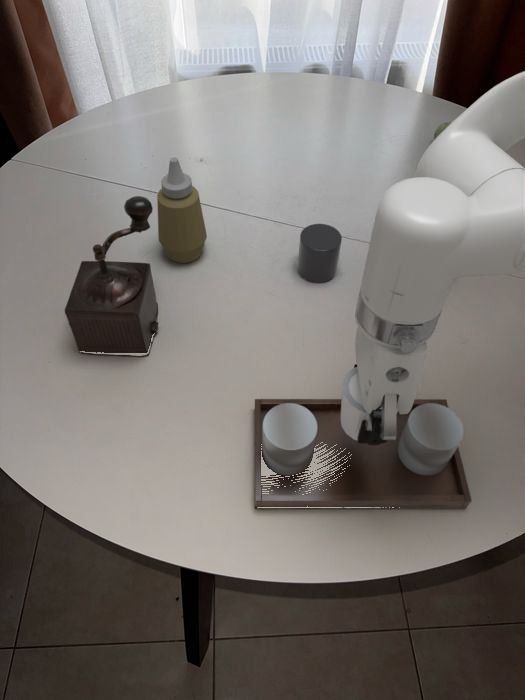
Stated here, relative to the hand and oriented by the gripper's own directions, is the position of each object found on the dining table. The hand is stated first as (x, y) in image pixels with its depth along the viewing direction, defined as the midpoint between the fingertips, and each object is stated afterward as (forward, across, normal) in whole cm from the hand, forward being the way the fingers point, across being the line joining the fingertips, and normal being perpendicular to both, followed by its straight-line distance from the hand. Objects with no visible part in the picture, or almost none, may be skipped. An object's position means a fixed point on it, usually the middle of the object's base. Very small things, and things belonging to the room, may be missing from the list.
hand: (367, 412), depth 67 cm
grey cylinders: (+10, +35, -7) cm, 37 cm away
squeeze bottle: (+11, +39, +25) cm, 48 cm away
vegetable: (+11, +68, -26) cm, 74 cm away
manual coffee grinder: (+11, +24, +33) cm, 42 cm away
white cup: (+2, 0, 0) cm, 2 cm away
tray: (+10, 0, 0) cm, 10 cm away
